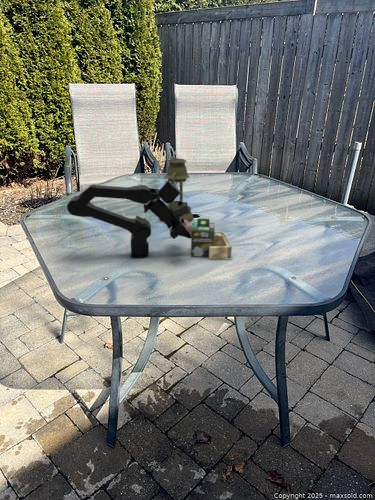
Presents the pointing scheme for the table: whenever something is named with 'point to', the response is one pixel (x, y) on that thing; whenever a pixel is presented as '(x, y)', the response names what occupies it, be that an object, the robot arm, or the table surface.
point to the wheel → (218, 233)
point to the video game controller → (188, 225)
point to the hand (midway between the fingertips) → (191, 237)
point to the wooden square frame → (220, 248)
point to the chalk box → (202, 237)
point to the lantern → (178, 181)
